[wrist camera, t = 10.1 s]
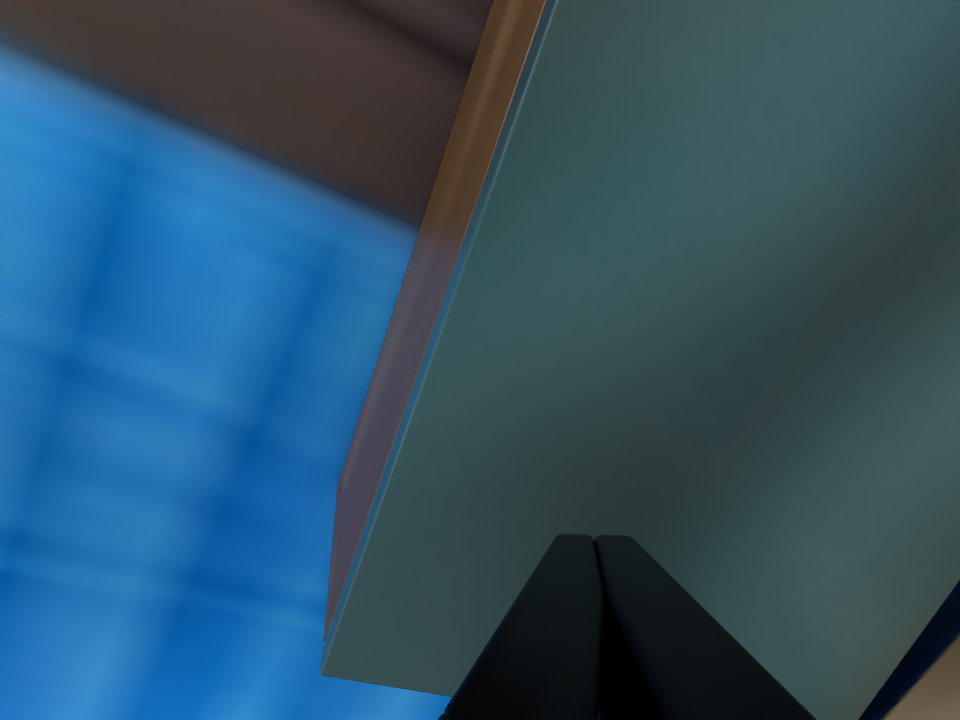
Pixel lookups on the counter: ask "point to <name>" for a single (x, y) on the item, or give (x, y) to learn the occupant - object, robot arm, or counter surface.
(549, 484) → the lid
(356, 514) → the toy box
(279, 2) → the counter surface
